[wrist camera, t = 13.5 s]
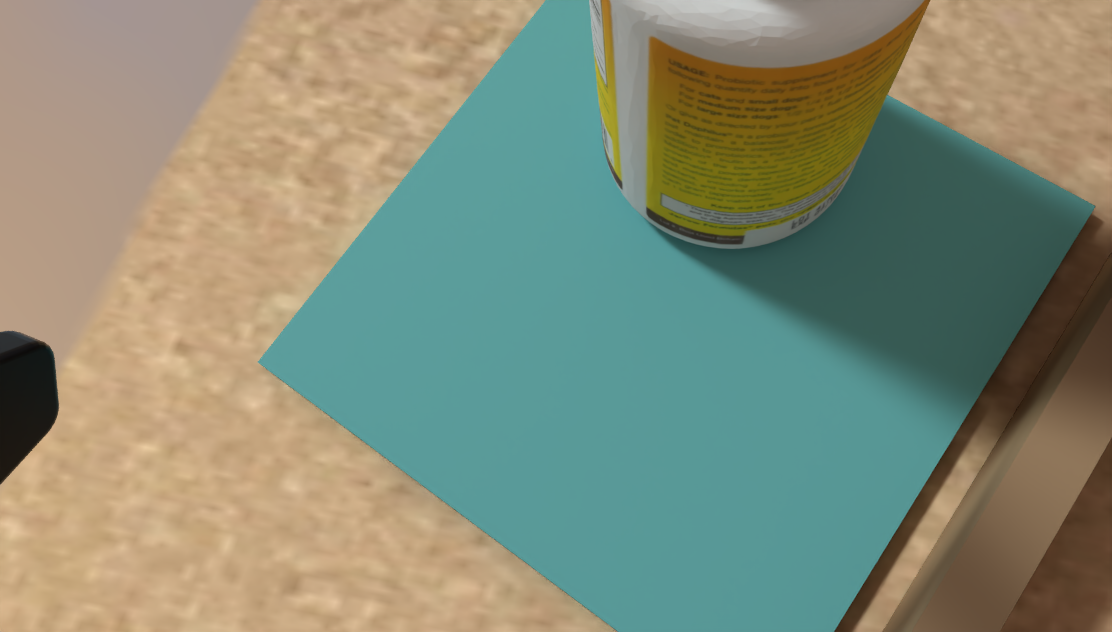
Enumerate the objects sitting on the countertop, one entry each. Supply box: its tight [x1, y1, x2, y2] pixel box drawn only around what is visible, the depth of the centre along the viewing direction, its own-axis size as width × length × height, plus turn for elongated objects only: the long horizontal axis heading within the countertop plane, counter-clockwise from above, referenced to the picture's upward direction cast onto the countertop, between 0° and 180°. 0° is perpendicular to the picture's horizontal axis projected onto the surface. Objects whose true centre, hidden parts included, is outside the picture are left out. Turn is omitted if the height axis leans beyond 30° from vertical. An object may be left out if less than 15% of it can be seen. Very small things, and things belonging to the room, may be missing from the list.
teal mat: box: [258, 0, 1095, 632], centre depth 21 cm, size 13×13×1 cm
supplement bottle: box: [589, 0, 930, 249], centre depth 16 cm, size 6×6×10 cm
